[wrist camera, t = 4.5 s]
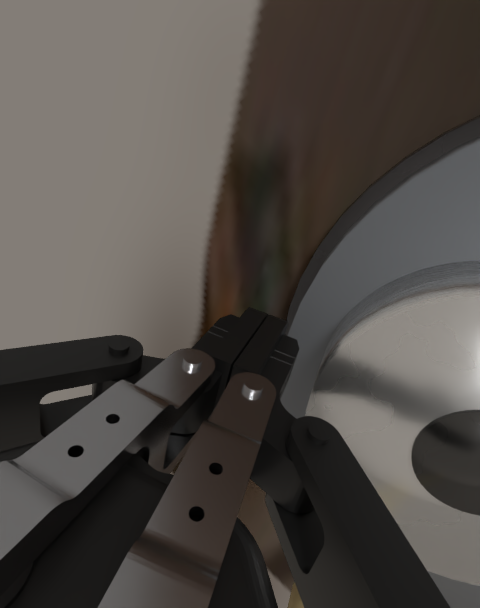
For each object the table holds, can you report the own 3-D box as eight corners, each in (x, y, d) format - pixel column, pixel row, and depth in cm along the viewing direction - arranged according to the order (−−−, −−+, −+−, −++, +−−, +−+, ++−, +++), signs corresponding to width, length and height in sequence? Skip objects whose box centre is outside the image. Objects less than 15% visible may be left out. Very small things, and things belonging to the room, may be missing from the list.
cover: (374, 218, 12) (367, 243, 10) (760, 330, 10) (892, 403, 7) (290, 441, 17) (270, 500, 14) (542, 551, 15) (574, 646, 12)
